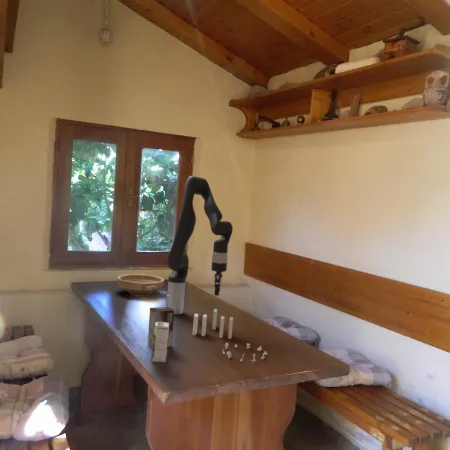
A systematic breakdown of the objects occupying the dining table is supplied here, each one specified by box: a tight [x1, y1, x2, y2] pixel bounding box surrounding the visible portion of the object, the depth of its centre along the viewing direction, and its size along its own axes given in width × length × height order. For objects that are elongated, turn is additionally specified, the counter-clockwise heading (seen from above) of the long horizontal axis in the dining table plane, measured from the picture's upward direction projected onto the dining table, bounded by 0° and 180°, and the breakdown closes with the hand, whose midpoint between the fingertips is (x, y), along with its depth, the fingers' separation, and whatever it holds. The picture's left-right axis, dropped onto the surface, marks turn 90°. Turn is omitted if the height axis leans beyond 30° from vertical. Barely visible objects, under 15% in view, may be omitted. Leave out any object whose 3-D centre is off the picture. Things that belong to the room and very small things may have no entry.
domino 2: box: [201, 313, 208, 337], centre depth 229 cm, size 2×5×9 cm, turn 177°
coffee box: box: [147, 306, 175, 348], centre depth 208 cm, size 9×6×16 cm
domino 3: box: [211, 308, 218, 331], centre depth 240 cm, size 2×5×9 cm, turn 177°
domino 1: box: [192, 313, 199, 336], centre depth 229 cm, size 2×5×9 cm, turn 177°
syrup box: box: [151, 322, 169, 363], centre depth 191 cm, size 6×6×14 cm
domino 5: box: [227, 316, 234, 340], centre depth 228 cm, size 2×5×9 cm, turn 177°
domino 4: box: [218, 315, 225, 339], centre depth 228 cm, size 2×5×9 cm, turn 177°
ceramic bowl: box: [117, 273, 165, 297], centre depth 299 cm, size 37×29×10 cm
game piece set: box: [222, 342, 268, 363], centre depth 206 cm, size 19×20×4 cm
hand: (217, 293), depth 239 cm, fingers open, 8 cm apart
